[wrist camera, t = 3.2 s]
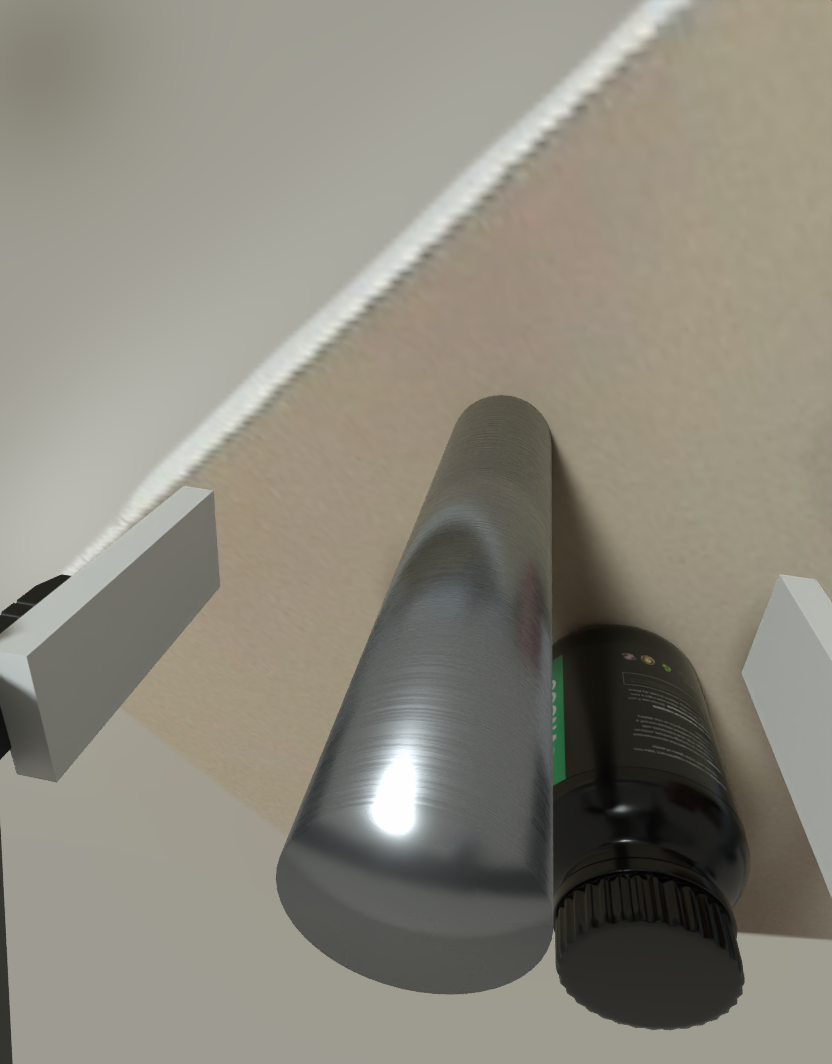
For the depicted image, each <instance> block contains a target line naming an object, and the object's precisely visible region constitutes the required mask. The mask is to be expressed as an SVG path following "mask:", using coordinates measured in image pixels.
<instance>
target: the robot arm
mask: <svg viewBox="0 0 832 1064" xmlns="http://www.w3.org/2000/svg"><path fill="white" fill-rule="evenodd" d="M219 587H220V578H219V564H218V549H217V535H216V521H215V506H214V492H213V490H207V489H200V488H193V487H186V486H183V487H182V488H181V489H180V490H178V491H177V492H176V493H175V494H173V495H172V496H171V497H170V498H168V499H167V500H166V501H165V502H163V503H162V504H161V505H160V506H158V507H157V508H156V509H155V510H153V511H152V512H151V513H150V514H148V515H147V516H146V517H145V518H143V519H142V520H141V521H140V522H139V523H137V524H136V525H135V526H134V527H132V528H131V529H130V530H129V531H127V532H126V533H125V534H124V535H122V536H121V537H120V538H119V539H117V540H116V541H115V542H114V543H112V544H111V545H110V546H109V547H107V548H106V549H105V550H104V551H102V552H101V553H100V554H99V555H98V556H96V557H95V558H94V559H93V560H91V561H90V562H89V563H88V564H86V565H85V566H84V567H83V568H81V569H80V570H79V571H78V572H76V573H75V574H74V575H73V576H68V575H59V576H57V577H55V578H52V579H50V580H48V581H46V582H43V583H41V584H39V585H36V586H35V587H34V588H32V589H31V590H30V591H29V592H27V593H26V594H25V595H23V596H22V597H21V598H19V599H18V600H17V603H13V604H11V605H10V606H9V607H7V608H6V609H5V610H4V611H2V613H1V615H0V759H1V758H2V757H3V756H4V755H5V754H6V753H7V752H8V751H9V750H10V751H11V754H12V758H13V762H14V765H15V769H16V772H17V774H19V775H24V776H29V777H34V778H39V779H43V780H48V781H53V782H57V781H58V780H59V779H60V778H61V777H62V775H63V774H64V773H65V772H66V771H67V770H68V768H69V767H70V766H71V765H72V764H73V762H74V761H75V760H76V759H77V758H78V756H79V755H80V754H81V753H82V752H83V750H84V749H85V748H86V747H87V746H88V744H89V743H90V742H91V741H92V740H93V738H94V737H95V736H96V735H97V734H98V732H99V731H100V730H101V729H102V728H103V726H104V725H105V724H106V723H107V721H108V720H109V719H110V718H111V717H112V716H113V714H114V713H115V712H116V711H117V710H118V708H119V707H120V706H121V705H122V704H123V702H124V701H125V700H126V699H127V698H128V696H129V695H130V694H131V693H132V692H133V690H134V689H135V688H136V687H137V686H138V684H139V683H140V682H141V681H142V680H143V678H144V677H145V676H146V675H147V674H148V672H149V671H150V670H151V669H152V668H153V666H154V665H155V664H156V663H157V662H158V660H159V659H160V658H161V657H162V656H163V654H164V653H165V652H166V651H167V650H168V648H169V647H170V646H171V645H172V644H173V642H174V641H175V640H176V639H177V638H178V636H179V635H180V634H181V633H182V632H183V630H184V629H185V628H186V627H187V626H188V624H189V623H190V622H191V621H192V620H193V618H194V617H195V616H196V615H197V614H198V612H199V611H200V610H201V609H202V608H203V606H204V605H205V604H206V603H207V602H208V600H209V599H210V598H211V597H212V596H213V594H214V593H215V592H216V591H217V590H218V588H219ZM742 676H743V678H744V681H745V683H746V686H747V688H748V691H749V693H750V696H751V698H752V701H753V703H754V706H755V708H756V711H757V713H758V716H759V718H760V721H761V723H762V726H763V728H764V731H765V733H766V735H767V738H768V740H769V743H770V745H771V748H772V750H773V753H774V755H775V758H776V760H777V763H778V765H779V768H780V770H781V773H782V775H783V778H784V780H785V783H786V785H787V788H788V790H789V793H790V795H791V798H792V800H793V803H794V805H795V808H796V810H797V813H798V815H799V818H800V820H801V823H802V825H803V828H804V830H805V833H806V835H807V838H808V840H809V843H810V845H811V848H812V850H813V853H814V855H815V858H816V860H817V863H818V865H819V868H820V870H821V873H822V875H823V878H824V880H825V883H826V885H827V888H828V890H829V893H830V895H831V898H832V602H831V601H830V599H829V598H828V596H827V595H826V593H825V592H824V591H823V589H822V588H821V586H820V585H819V583H818V582H817V580H816V579H809V578H802V577H795V576H789V575H782V574H779V576H778V578H777V581H776V584H775V586H774V589H773V591H772V594H771V597H770V599H769V602H768V605H767V607H766V610H765V612H764V615H763V618H762V620H761V623H760V626H759V628H758V631H757V633H756V636H755V639H754V641H753V644H752V646H751V649H750V652H749V654H748V657H747V660H746V662H745V665H744V667H743V670H742ZM0 1064H12V1046H11V1026H10V1006H9V987H8V966H7V947H6V928H5V908H4V888H3V868H2V849H1V830H0Z"/></svg>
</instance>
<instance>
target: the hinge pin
mask: <svg viewBox="0 0 832 1064" xmlns="http://www.w3.org/2000/svg"><path fill="white" fill-rule="evenodd" d="M276 882H277V890H278V894H279V897H280V900H281V903H282V905H283V907H284V909H285V911H286V913H287V915H288V917H289V918H290V920H291V921H292V923H293V924H294V925H295V927H296V928H297V929H298V930H299V931H300V932H301V934H302V935H303V936H304V937H305V938H306V939H307V940H308V941H309V942H311V943H312V944H313V945H314V946H315V947H316V948H318V949H319V950H320V951H321V952H323V953H324V954H325V955H326V956H328V957H330V958H331V959H333V960H334V961H336V962H337V963H339V964H341V965H342V966H344V967H346V968H348V969H350V970H352V971H353V972H356V973H358V974H360V975H362V976H365V977H367V978H369V979H372V980H375V981H378V982H381V983H383V984H387V985H390V986H394V987H398V988H401V989H406V990H412V991H416V992H424V993H432V994H467V993H475V992H482V991H486V990H489V989H494V988H498V987H500V986H503V985H506V984H509V983H511V982H513V981H515V980H517V979H519V978H521V977H522V976H524V975H525V974H526V973H528V972H529V971H530V970H532V969H533V968H534V967H535V965H537V964H538V963H539V962H540V961H541V959H542V958H543V956H544V955H545V953H546V952H547V950H548V947H549V945H550V942H551V940H552V933H553V705H552V458H551V434H550V430H549V427H548V425H547V422H546V420H545V419H544V417H543V416H542V414H541V413H540V412H539V411H538V410H537V409H536V408H535V407H533V406H532V405H531V404H529V403H528V402H526V401H524V400H522V399H519V398H516V397H512V396H503V395H500V396H491V397H487V398H484V399H481V400H479V401H477V402H475V403H474V404H472V405H471V406H469V407H468V408H467V409H466V410H465V411H464V412H463V413H462V415H461V416H460V417H459V419H458V421H457V423H456V425H455V427H454V429H453V432H452V434H451V437H450V439H449V442H448V444H447V447H446V449H445V452H444V454H443V457H442V459H441V462H440V464H439V466H438V469H437V471H436V474H435V476H434V479H433V481H432V484H431V486H430V489H429V491H428V494H427V496H426V498H425V501H424V503H423V506H422V508H421V511H420V513H419V516H418V518H417V521H416V523H415V526H414V528H413V530H412V533H411V535H410V538H409V540H408V543H407V545H406V548H405V550H404V553H403V555H402V558H401V560H400V562H399V565H398V567H397V570H396V572H395V575H394V577H393V580H392V582H391V585H390V587H389V590H388V592H387V594H386V597H385V599H384V602H383V604H382V607H381V609H380V612H379V614H378V617H377V619H376V622H375V624H374V626H373V629H372V631H371V634H370V636H369V639H368V641H367V644H366V646H365V649H364V651H363V654H362V656H361V658H360V661H359V663H358V666H357V668H356V671H355V673H354V676H353V678H352V681H351V683H350V686H349V688H348V691H347V693H346V695H345V698H344V700H343V703H342V705H341V708H340V710H339V713H338V715H337V718H336V720H335V723H334V725H333V727H332V730H331V732H330V735H329V737H328V740H327V742H326V745H325V747H324V750H323V752H322V755H321V757H320V759H319V762H318V764H317V767H316V769H315V772H314V774H313V777H312V779H311V782H310V784H309V787H308V789H307V791H306V794H305V796H304V799H303V801H302V804H301V806H300V809H299V811H298V814H297V816H296V819H295V821H294V823H293V826H292V828H291V831H290V833H289V836H288V838H287V841H286V843H285V846H284V848H283V851H282V853H281V855H280V858H279V862H278V866H277V873H276Z"/></svg>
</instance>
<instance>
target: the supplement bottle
mask: <svg viewBox="0 0 832 1064" xmlns="http://www.w3.org/2000/svg"><path fill="white" fill-rule="evenodd" d="M552 705H553V928H554V931H555V942H556V943H555V947H556V948H555V949H556V969H557V973H558V974H559V978H560V983H561V984H562V985H563V986H564V987H565V988H566V991H567V993H568V994H569V995H571V996H572V997H574V998H575V1000H576V1002H577V1003H579V1004H581V1005H583V1006H585V1007H586V1008H587V1009H588V1010H589V1011H591V1012H593V1013H596V1014H598V1015H599V1016H601V1017H602V1018H605V1019H609V1020H613V1021H614V1022H616V1023H618V1024H624V1025H630V1026H632V1027H635V1028H647V1029H651V1030H657V1029H664V1030H673V1029H677V1028H680V1029H687V1028H690V1027H692V1026H697V1025H703V1024H705V1023H706V1022H708V1021H713V1020H716V1019H718V1018H719V1016H720V1015H722V1014H725V1013H728V1012H729V1009H730V1008H731V1007H732V1006H734V1005H736V1004H737V998H738V997H739V996H741V995H742V986H743V985H744V973H743V966H742V960H741V956H740V952H739V948H738V944H737V940H736V938H737V926H736V921H735V918H734V915H733V911H732V908H733V907H734V906H735V904H736V903H737V901H738V899H739V898H740V896H741V894H742V892H743V890H744V887H745V885H746V882H747V878H748V874H749V867H750V854H749V848H748V843H747V839H746V834H745V830H744V827H743V824H742V820H741V817H740V814H739V810H738V807H737V804H736V801H735V797H734V794H733V791H732V788H731V784H730V781H729V778H728V775H727V771H726V768H725V765H724V762H723V758H722V755H721V752H720V749H719V745H718V742H717V739H716V736H715V732H714V729H713V726H712V723H711V719H710V716H709V713H708V710H707V706H706V703H705V700H704V697H703V694H702V691H701V688H700V685H699V682H698V679H697V676H696V674H695V672H694V670H693V668H692V666H691V664H690V663H689V661H688V660H687V658H686V657H685V656H684V655H683V654H682V653H681V652H680V651H679V650H678V649H677V648H676V647H675V646H674V645H673V644H671V643H670V642H669V641H667V640H665V639H664V638H662V637H660V636H658V635H656V634H654V633H652V632H649V631H647V630H644V629H640V628H636V627H632V626H625V625H599V626H593V627H588V628H584V629H581V630H578V631H575V632H573V633H571V634H568V635H566V636H565V637H563V638H561V639H560V640H558V641H557V642H556V643H554V644H553V645H552Z"/></svg>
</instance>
